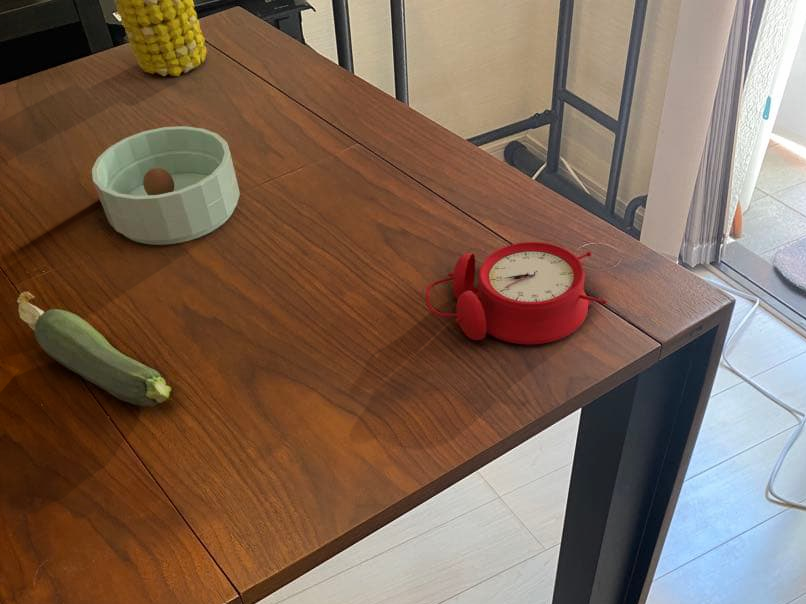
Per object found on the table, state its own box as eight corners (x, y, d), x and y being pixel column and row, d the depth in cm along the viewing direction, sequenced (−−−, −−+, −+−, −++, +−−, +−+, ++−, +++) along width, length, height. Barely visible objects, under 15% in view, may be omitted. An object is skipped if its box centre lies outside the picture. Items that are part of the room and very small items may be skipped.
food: (222, 65, 115) (175, 102, 111) (154, 31, 117) (105, 65, 113) (211, -55, 102) (157, -20, 97) (135, -92, 104) (78, -59, 99)
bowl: (83, 221, 91) (63, 173, 86) (179, 162, 97) (165, 114, 93) (171, 263, 85) (155, 213, 80) (267, 197, 91) (257, 148, 87)
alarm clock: (616, 306, 70) (441, 288, 68) (591, 363, 75) (427, 348, 73) (592, 235, 77) (432, 216, 74) (571, 292, 82) (419, 276, 79)
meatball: (163, 202, 92) (146, 174, 91) (184, 188, 91) (167, 160, 90) (149, 208, 90) (131, 180, 88) (171, 194, 88) (153, 165, 87)
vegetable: (147, 431, 70) (-3, 334, 77) (186, 418, 73) (39, 326, 80) (151, 383, 67) (-4, 288, 74) (191, 372, 71) (38, 281, 78)
